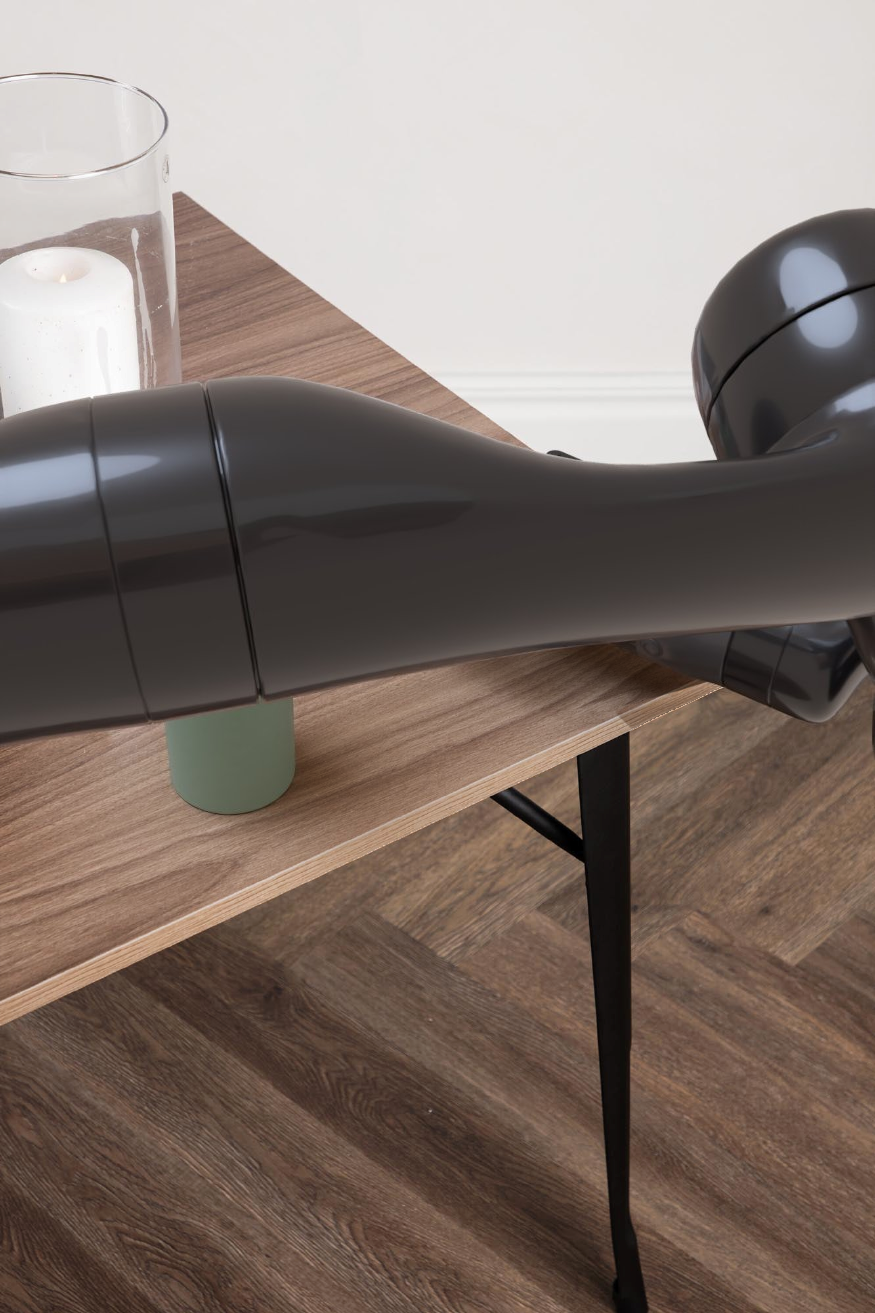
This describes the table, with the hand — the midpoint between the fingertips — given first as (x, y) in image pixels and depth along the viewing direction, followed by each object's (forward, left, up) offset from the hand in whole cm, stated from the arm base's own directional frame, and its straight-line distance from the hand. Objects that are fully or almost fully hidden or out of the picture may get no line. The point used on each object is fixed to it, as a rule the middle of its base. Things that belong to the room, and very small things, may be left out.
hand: (423, 492), depth 83 cm
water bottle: (-17, -10, -6) cm, 20 cm away
